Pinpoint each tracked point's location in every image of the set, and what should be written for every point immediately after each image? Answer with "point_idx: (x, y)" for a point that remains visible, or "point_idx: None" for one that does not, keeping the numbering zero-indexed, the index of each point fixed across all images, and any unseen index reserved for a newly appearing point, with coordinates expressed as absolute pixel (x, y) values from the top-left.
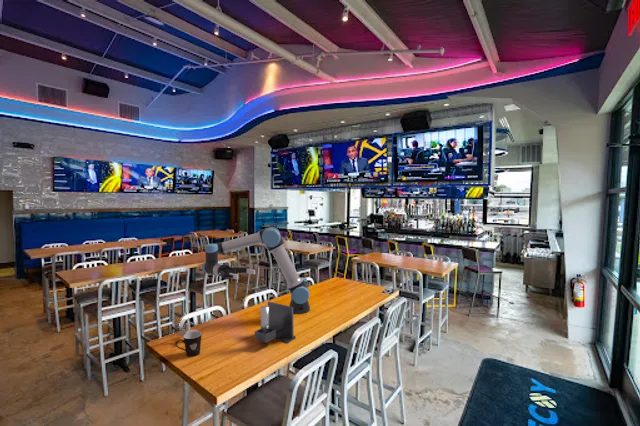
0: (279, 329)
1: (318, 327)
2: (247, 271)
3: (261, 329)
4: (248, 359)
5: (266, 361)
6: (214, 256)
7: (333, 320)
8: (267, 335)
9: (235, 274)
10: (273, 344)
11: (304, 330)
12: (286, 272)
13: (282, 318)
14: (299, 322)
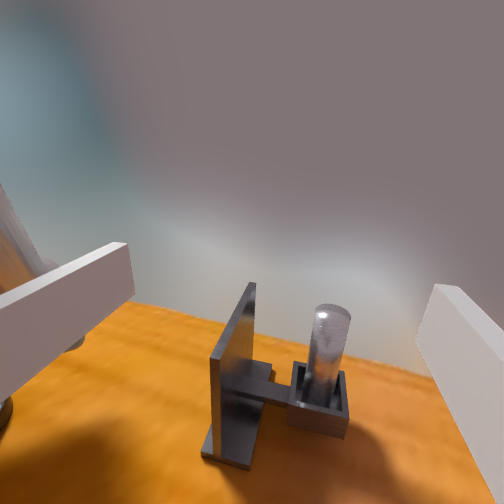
0: (250, 379)
1: (159, 334)
2: (6, 362)
3: (334, 388)
4: (412, 428)
5: (378, 379)
6: None
7: (113, 317)
8: None
9: (478, 307)
10: None
11: (182, 356)
12: (12, 234)
13: (244, 344)
14: (114, 387)
